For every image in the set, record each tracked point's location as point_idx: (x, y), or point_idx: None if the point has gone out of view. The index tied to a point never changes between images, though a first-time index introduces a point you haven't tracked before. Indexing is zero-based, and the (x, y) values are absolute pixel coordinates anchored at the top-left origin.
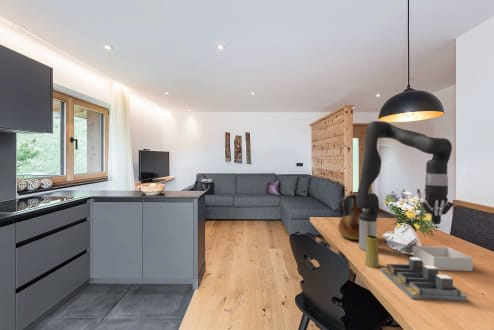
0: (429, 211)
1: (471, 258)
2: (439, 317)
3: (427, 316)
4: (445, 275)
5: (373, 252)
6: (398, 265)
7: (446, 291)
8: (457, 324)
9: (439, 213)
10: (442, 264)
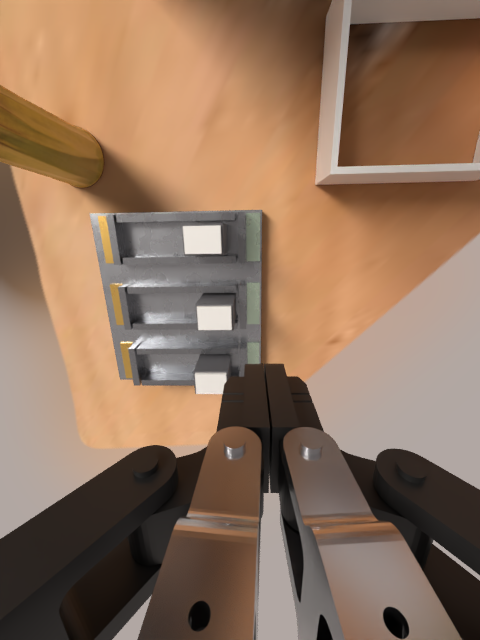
0: (106, 576)
1: None
2: (150, 428)
3: (127, 427)
4: (219, 379)
5: (28, 170)
6: (150, 221)
7: None
8: (171, 443)
9: (292, 541)
10: (360, 179)
